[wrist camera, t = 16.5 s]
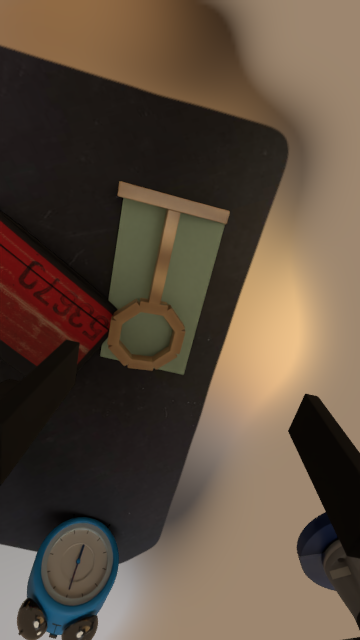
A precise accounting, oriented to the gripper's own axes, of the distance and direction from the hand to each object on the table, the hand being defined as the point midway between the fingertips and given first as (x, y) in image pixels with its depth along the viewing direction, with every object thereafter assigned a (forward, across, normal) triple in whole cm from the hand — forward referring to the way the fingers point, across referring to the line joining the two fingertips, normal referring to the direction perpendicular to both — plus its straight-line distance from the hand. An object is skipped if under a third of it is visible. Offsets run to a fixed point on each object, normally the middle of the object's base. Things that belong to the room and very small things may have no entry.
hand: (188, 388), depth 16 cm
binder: (+21, -20, -6) cm, 30 cm away
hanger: (+19, -4, 0) cm, 20 cm away
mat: (+21, -4, 0) cm, 21 cm away
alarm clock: (+22, -8, -47) cm, 53 cm away
